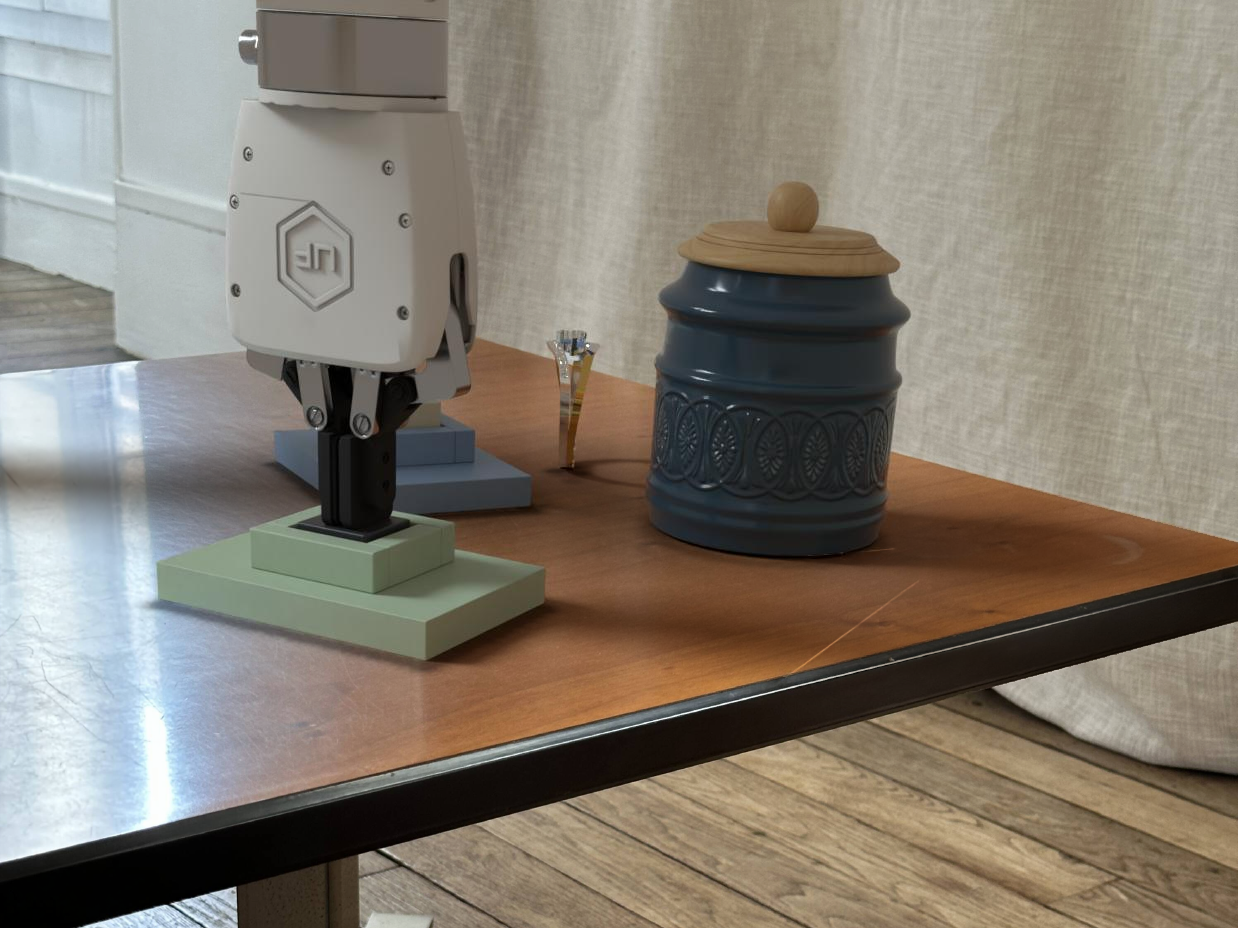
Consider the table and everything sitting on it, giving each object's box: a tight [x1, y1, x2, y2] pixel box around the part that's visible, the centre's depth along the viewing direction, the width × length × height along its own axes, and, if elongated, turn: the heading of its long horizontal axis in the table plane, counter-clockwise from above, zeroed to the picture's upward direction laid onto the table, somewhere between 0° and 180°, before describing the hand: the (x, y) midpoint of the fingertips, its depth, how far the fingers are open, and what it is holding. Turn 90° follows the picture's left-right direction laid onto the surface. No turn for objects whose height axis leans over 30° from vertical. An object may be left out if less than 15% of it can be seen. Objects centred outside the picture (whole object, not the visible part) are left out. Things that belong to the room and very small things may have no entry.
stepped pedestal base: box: [155, 504, 547, 662], centre depth 78 cm, size 14×10×4 cm
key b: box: [401, 400, 442, 429], centre depth 98 cm, size 4×4×2 cm
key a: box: [297, 515, 410, 543], centre depth 78 cm, size 4×4×2 cm
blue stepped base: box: [273, 412, 533, 516], centre depth 99 cm, size 14×10×4 cm
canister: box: [644, 180, 912, 557], centre depth 91 cm, size 13×13×18 cm
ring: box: [545, 329, 601, 470], centre depth 104 cm, size 7×3×8 cm, turn 177°
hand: (357, 519), depth 77 cm, fingers closed
